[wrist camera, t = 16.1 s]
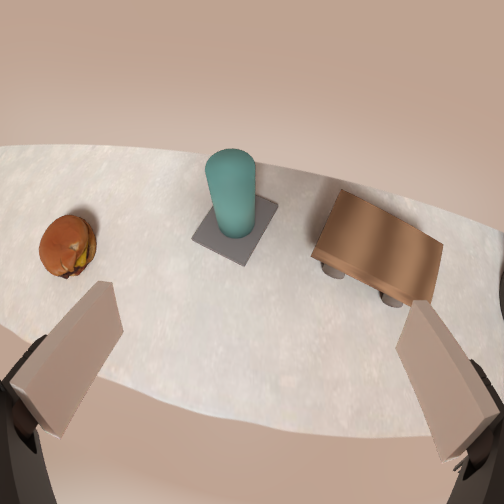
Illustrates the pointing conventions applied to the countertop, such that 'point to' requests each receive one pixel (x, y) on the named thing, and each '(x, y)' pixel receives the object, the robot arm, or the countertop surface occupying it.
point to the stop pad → (239, 247)
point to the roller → (232, 191)
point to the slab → (378, 251)
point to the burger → (67, 246)
